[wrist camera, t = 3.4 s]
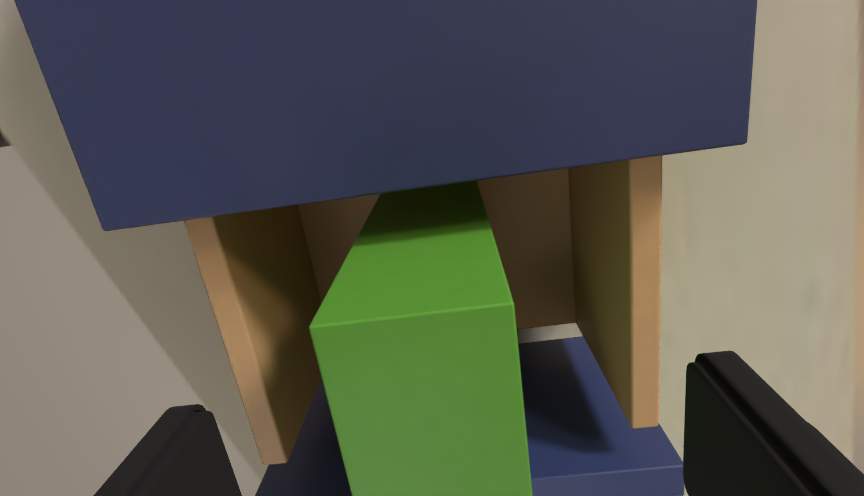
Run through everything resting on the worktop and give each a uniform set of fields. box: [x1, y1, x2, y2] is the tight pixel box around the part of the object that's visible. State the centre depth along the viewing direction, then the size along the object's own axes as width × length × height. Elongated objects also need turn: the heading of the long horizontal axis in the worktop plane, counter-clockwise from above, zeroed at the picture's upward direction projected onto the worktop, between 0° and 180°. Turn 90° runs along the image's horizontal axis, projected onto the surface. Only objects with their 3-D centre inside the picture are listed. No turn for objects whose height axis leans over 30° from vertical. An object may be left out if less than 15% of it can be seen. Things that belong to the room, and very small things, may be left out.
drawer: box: [184, 155, 684, 496], centre depth 17 cm, size 18×13×8 cm
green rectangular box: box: [309, 181, 533, 496], centre depth 14 cm, size 4×6×11 cm, turn 8°
